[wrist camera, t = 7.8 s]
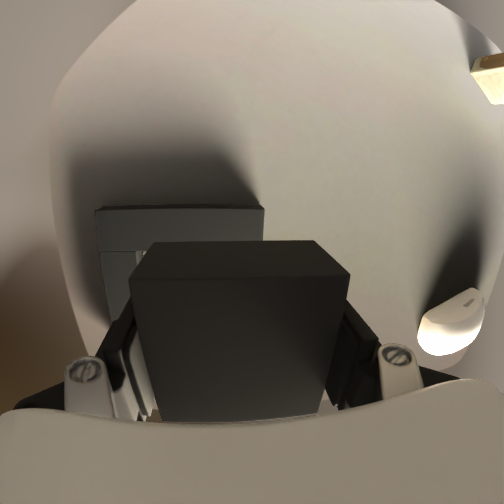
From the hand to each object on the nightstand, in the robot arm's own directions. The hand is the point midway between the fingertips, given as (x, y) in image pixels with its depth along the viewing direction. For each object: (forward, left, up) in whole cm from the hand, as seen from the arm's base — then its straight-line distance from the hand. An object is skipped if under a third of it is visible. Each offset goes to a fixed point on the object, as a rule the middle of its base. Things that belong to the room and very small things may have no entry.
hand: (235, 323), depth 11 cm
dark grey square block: (0, 0, -1) cm, 1 cm away
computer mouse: (+33, -12, -16) cm, 38 cm away
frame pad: (-4, -5, -16) cm, 17 cm away
